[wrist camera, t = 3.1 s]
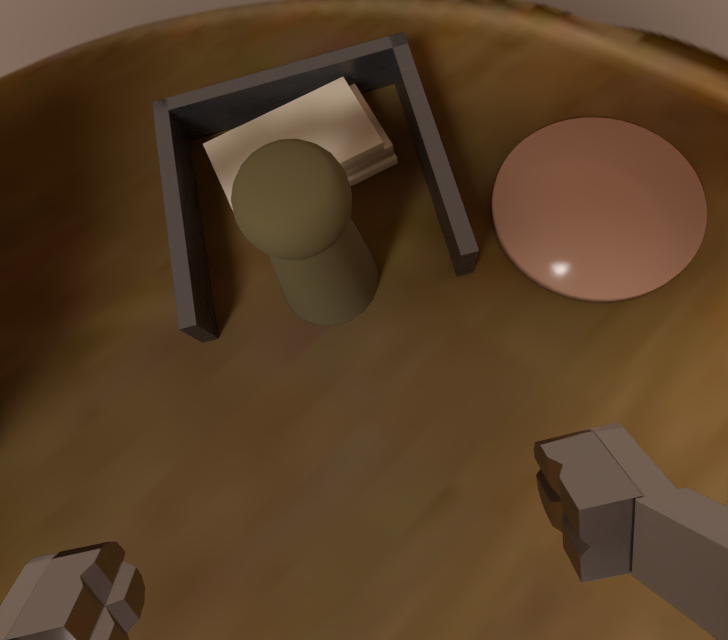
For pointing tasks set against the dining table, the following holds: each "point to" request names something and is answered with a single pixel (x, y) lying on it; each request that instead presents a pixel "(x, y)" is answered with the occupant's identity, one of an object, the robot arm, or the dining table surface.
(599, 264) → the pink round disc
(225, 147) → the offcut stack
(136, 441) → the dining table surface
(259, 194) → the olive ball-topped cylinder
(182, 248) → the grey u-shaped frame
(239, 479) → the dining table surface
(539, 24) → the dining table surface
